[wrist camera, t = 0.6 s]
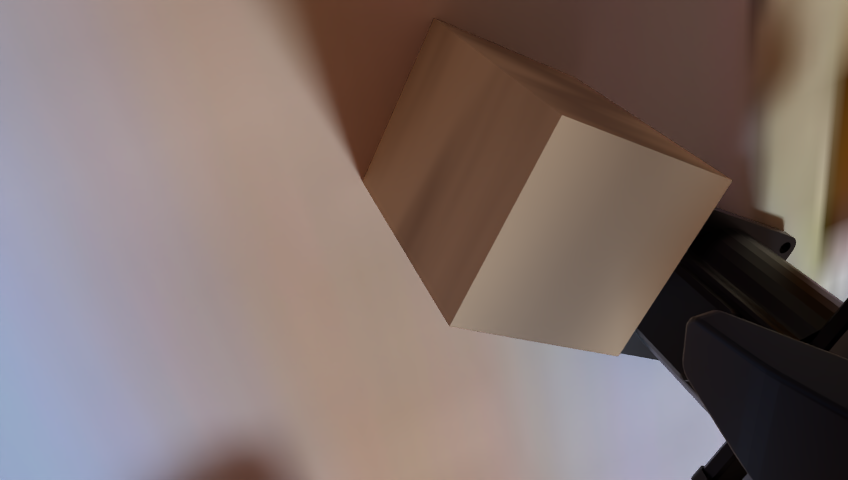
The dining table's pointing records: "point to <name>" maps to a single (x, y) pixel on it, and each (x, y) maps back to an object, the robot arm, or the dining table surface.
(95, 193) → the dining table surface
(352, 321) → the dining table surface
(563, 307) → the walnut block
